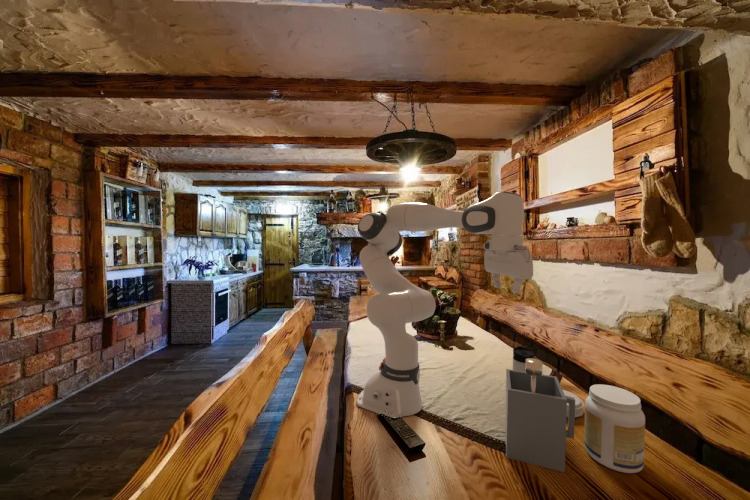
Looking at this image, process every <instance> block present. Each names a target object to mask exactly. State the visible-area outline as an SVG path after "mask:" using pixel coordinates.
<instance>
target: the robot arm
mask: <svg viewBox="0 0 750 500" xmlns="http://www.w3.org/2000/svg"><path fill="white" fill-rule="evenodd" d="M524 208H525V206H524V200H523V197H522V196H521V195H520V194H519V193H516V192H511V191H497V192H495V193H494V194H493V195H492V196H491V197H488V198H487V199H485V200H482V201H480V202H477V203H475V204H471V205H469V206H467V207H466V208H465V209H464V210H452V209H447V208H443V207H439V206H438V205H433V204H429V203H424V202H419V201H418V202H412V201H411V202H402V203H396V204H393V205H391V206H390V207H389V208H388V209H387V211H386V213H385V212H383V211H380V210H379V211H377V212H370V213H367V214H364V215H363V216H362V217H360V219H359V222H358V223H357V232H358V233H359V235H360V237H362V239H364V240H366V242H368V243H367V245H365V246H364V247H363V248H362V249H361V250H360V251H359V261H360V262H359V263H360V265H361V269H362V271H363V272H364V275H365V276H366V278H367V280H368V282H369V284H370V285H371V287H372V289H373V290H374V291H375V293H377V294H376V295H373V296H371V297H370V298H369V299H368V300H367V303H366V306H365V307H366V308H365V313H366V316H367V319H368V321H369V323H371V324H372V325H373V326H375V327H376V328H377V329H378V330H379V331H380V333H381V335H382V336H383V341H384V349H385V353H384V354H385V356H384V358H383V359H382V362H381V363H380V365H379V366H378V372H377V373H375V374H373V375H372V376H370V377H369V378H368V380H367V381H366V383H365V385H364V388H363V390H362V391H360V392H359V394H358V395H357V398H356V405H357V407H359V408H363V409H365V410H368V411H371V412H373V413H376V414H377V415H380V414H381V413H383V414H386V415H388V416H391V417H400V418H402V417H408V416H412V415H416V414H418V413H419V412H420V411H421V410H422V409H423V405H424V404H423V400H422V397H421V392H420V391H421V390H420V382H419V381H420V379H421V377H420V375H421V373H420V372H421V371H420V363H419V343H418V340H417V339H416V338H415V336H413V335H412V334H410V333H408V332H407V329H406V328H407V327H406V325H407V324H409V323H415V322H416V323H417V322H420V321H423V320H426V319H428V318H430V317H432V316H433V315H434V313H435V310H436V307H437V305H436V299H435V297H434V296H433V294H432V292H431V291H429V290H426V289H424V288H421V287H419V286H417V285H415V284H414V283H413V282H411V281H409V280H408V279H407V278H406V277H405V276H404V275H402V274H401V273H400V271H399V270H398V269H397V268H396V266H395V265H394V263H393V262H392V260H391V259H390V257H392V256H393V255H394V254H395V253H396V252H398V251H399V250H400V248H401V247H402V245H403V237H402V235H401V233H400V232H404V231H406V232H413V233H415V232H417V233H418V232H428V231H433V230H441V229H447V228H456V229H457V228H458V229H464V230H465V231H467V232H468V233H471V234H474V235H488V236H491V239H489V240H488V241H486V242H484V243H483V250H484V255H483V259H484V261H483V262H484V269H485V272H487V273H491V277H492V278H491V279H492V280H493V287H494V288H496V289H498V288H502V281H501V280H500V276H507V277H510V278H513V282H514V283H513V286H512V285H511V287H510V289H511V290H510V291H511V293H514V294H520V293H521V286H522V284H523V283H524V280H531V279H532V278H533V277H534V263H533V256H532V254H531V250H530V249H529V248H528V246H527V245H524V231H523V225H524V222H525V209H524ZM384 410H387V411H386V412H385V411H384ZM389 412H391V413H392V414H388V413H389Z"/></svg>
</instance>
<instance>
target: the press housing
mask: <svg viewBox="0 0 750 500" xmlns="http://www.w3.org/2000/svg"><path fill="white" fill-rule="evenodd" d="M505 371H506V372H505V411H504V413H505V416H504V417H505V418H504V429H505V430H504V434H505V435H506V437H505V455H506V459H507V458H508V459H512V460H515V461H518V462H523V463H527V464H531V465H534V466H539V467H542V468H547V469H550V470H554V471H558V472H562V473H566V470H565V469H566V444H567V443H566V441H567V439H566V438H568V439H573V440H574V439H575V426H576V425H575V423H576V422H575V421H576V420H575V419H576V417H575V398H573V397H567V396H565V395H564V392H563V390H564V389H563V388H562V386H561V383H560V380H559V378H558V377H557V376H553V375H548V374H542V375H540V376H536V393H533V392H531V374H528V373H526V372H523V371H516V370H513V369H508V368H506V370H505ZM567 403H569V404H568V417H566V413H567Z"/></svg>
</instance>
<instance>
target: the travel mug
mask: <svg viewBox="0 0 750 500" xmlns="http://www.w3.org/2000/svg"><path fill="white" fill-rule="evenodd" d="M528 358H533V359H535V353H534V351H533V350H532V349H530V348H527V347H525V346H523V345H517V346H516V347H514V348H512V370H516V371H523V372H526V371H525V364H526V359H528Z"/></svg>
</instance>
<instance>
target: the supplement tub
mask: <svg viewBox="0 0 750 500" xmlns="http://www.w3.org/2000/svg"><path fill="white" fill-rule="evenodd" d="M641 402H642V401H641V398H640V397H639V396H638V395H636V394H635V393H633V392H631V391H630V390H628V389H625V388H622V387H618V386H614V385H609V384H604V383H603V384H602V383H601V384H600V383H599V384H597V383H596V384H593V385H591V386H590V387H589V392H588V396H586V398H585V401H584V433H583V434H584V435H583V436H584V437H583V439H584V441H583V444H584V449H585V450H586V453H588V455H589V456H590V457H591V458H592V459H593V460H595V461H596V462H598V463H599V464H601V465H603V466H604V467H607V468H608V469H610V470H613V471H616V472H620V473H625V474H636V473H639V472H641V471H642V470H643V468H644V466H645V441H646V440H645V438H646V436H645V435H646V433H645V432H646V415H645V414H644V411H643V410H642V404H641Z"/></svg>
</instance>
